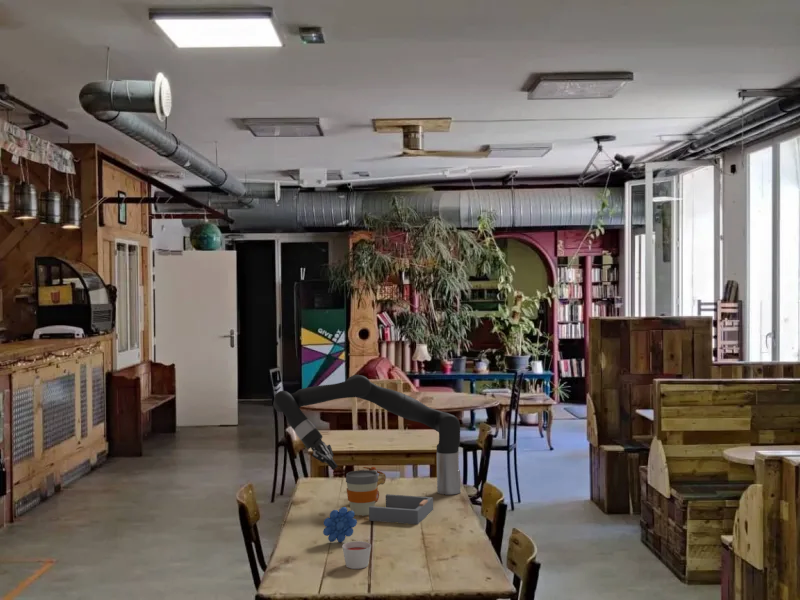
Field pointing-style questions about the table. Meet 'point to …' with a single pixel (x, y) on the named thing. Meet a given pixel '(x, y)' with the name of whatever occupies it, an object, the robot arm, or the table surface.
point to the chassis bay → (402, 509)
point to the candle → (356, 554)
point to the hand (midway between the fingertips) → (335, 468)
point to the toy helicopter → (380, 479)
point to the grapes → (339, 524)
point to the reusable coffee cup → (361, 490)
